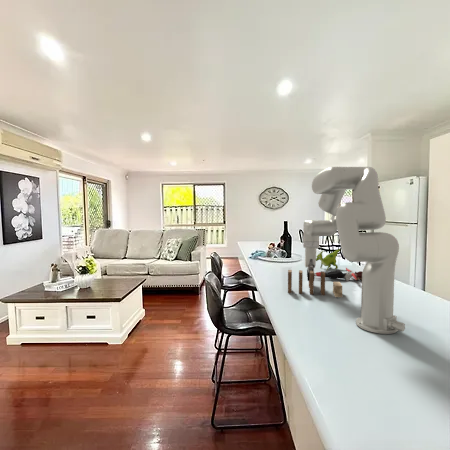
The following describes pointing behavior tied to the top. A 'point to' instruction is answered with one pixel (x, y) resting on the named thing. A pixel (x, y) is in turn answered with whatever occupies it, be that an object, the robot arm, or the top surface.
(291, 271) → the domino
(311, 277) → the domino
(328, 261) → the toy
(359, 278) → the toy
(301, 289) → the domino
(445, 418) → the top surface
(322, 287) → the domino
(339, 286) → the end block
